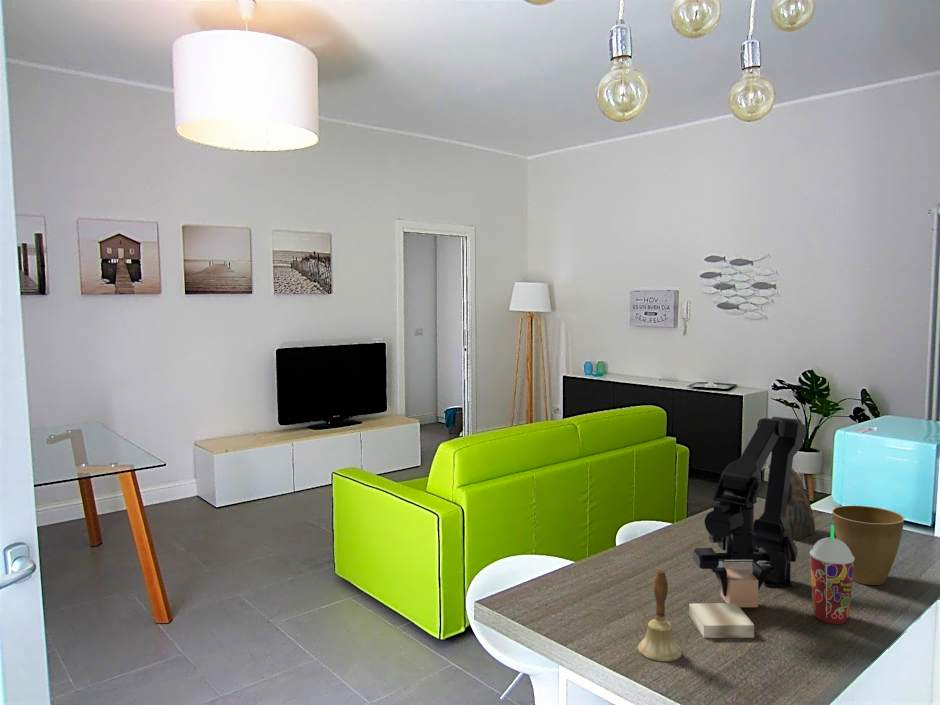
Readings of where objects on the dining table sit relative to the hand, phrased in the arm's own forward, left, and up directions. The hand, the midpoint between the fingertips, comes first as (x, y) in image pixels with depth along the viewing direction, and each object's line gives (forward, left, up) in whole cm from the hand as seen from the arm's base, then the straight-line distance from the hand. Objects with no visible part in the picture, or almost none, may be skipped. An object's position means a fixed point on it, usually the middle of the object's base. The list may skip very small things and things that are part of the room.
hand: (738, 595), depth 151 cm
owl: (-32, -47, -3) cm, 57 cm away
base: (+7, +9, -3) cm, 12 cm away
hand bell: (+22, +19, -3) cm, 29 cm away
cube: (0, 0, -1) cm, 1 cm away
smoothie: (-17, +6, -3) cm, 18 cm away
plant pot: (-35, -14, -3) cm, 38 cm away
